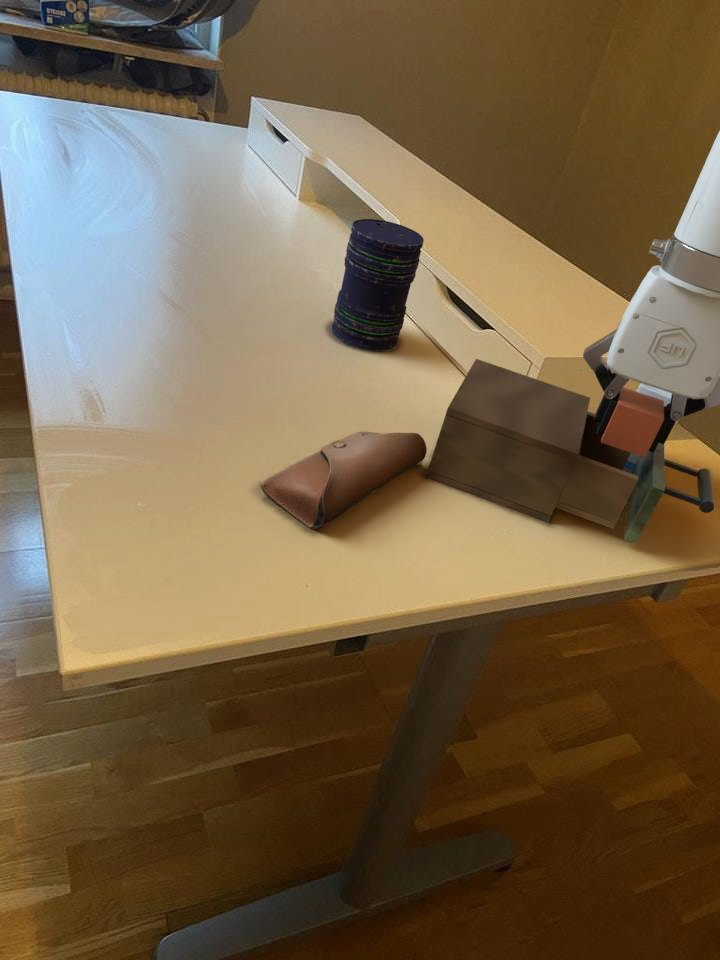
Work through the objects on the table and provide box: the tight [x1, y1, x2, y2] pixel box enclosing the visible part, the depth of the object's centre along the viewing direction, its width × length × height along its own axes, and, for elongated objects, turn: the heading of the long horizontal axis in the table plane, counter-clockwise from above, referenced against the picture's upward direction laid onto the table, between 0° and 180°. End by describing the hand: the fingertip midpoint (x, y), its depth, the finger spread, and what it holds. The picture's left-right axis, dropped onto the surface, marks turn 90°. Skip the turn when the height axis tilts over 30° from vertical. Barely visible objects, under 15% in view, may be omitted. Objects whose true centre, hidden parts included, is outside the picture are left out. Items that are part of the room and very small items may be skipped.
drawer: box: [555, 411, 716, 545], centre depth 79 cm, size 18×13×7 cm
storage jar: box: [331, 218, 425, 352], centre depth 101 cm, size 10×10×15 cm
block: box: [601, 386, 664, 457], centre depth 76 cm, size 5×5×5 cm
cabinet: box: [425, 358, 591, 523], centre depth 81 cm, size 14×14×9 cm
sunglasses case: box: [260, 431, 427, 529], centre depth 74 cm, size 18×7×7 cm, turn 144°
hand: (625, 435), depth 77 cm, fingers closed on block, 4 cm apart
